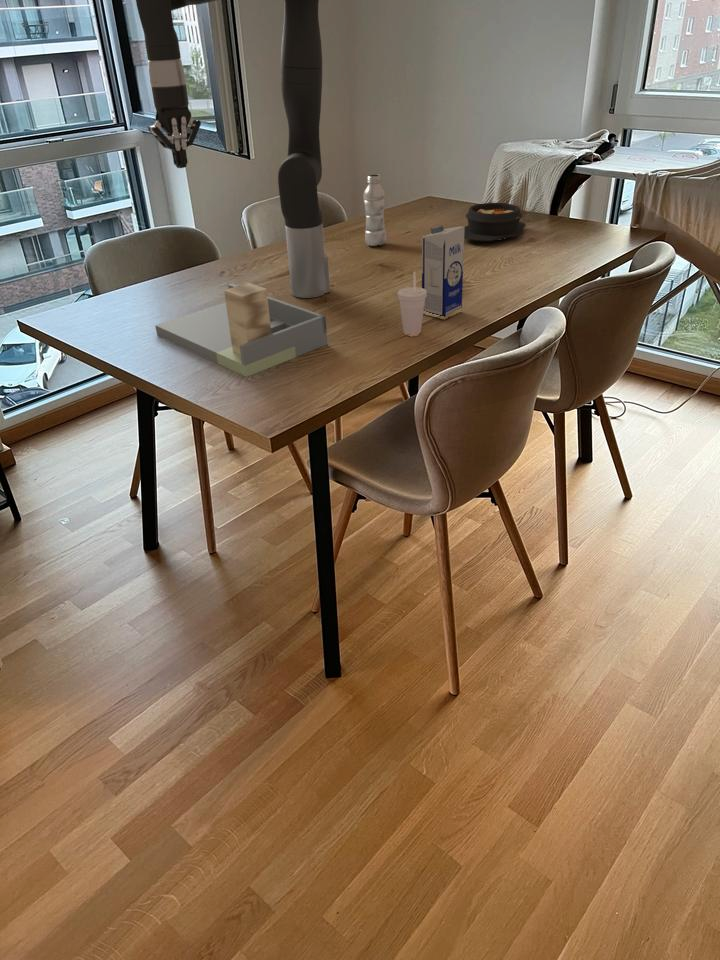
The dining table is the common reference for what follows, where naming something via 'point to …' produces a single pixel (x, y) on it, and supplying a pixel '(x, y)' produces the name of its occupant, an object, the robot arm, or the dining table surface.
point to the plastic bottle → (374, 211)
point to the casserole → (493, 222)
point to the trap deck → (287, 340)
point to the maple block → (247, 314)
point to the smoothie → (412, 307)
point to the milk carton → (443, 269)
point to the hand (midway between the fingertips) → (181, 167)
